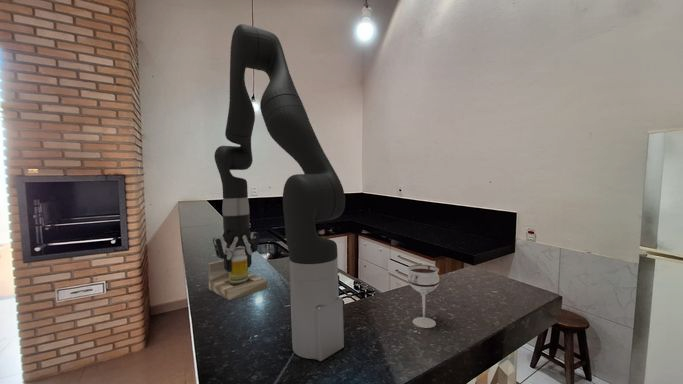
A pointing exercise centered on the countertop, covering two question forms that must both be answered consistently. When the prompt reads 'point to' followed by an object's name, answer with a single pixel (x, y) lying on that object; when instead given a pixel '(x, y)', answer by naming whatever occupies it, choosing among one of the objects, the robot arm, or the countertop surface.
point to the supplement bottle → (238, 266)
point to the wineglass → (423, 288)
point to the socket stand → (232, 290)
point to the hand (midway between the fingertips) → (238, 268)
